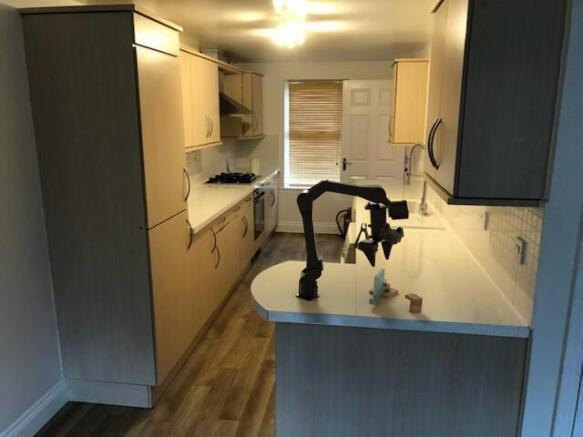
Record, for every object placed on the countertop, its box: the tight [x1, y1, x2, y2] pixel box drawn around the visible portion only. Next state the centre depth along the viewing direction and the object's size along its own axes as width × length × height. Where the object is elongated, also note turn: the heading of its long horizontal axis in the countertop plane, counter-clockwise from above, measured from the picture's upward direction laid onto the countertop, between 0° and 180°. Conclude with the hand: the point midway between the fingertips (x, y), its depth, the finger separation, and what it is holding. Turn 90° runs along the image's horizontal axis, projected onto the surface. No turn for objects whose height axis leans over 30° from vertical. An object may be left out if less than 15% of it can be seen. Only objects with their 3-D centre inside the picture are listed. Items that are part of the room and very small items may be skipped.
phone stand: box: [353, 222, 371, 248], centre depth 236 cm, size 9×6×12 cm, turn 76°
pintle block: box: [368, 287, 399, 300], centre depth 174 cm, size 8×8×1 cm
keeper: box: [404, 292, 424, 315], centre depth 159 cm, size 5×4×5 cm
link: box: [368, 268, 391, 306], centre depth 167 cm, size 19×4×10 cm, turn 155°
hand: (380, 263), depth 164 cm, fingers open, 9 cm apart
